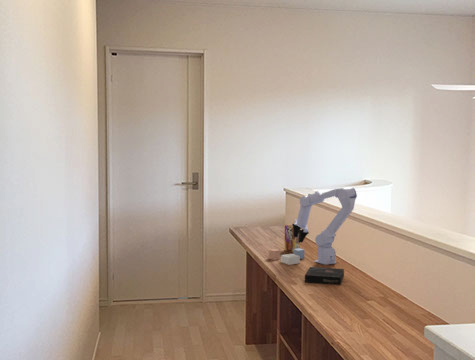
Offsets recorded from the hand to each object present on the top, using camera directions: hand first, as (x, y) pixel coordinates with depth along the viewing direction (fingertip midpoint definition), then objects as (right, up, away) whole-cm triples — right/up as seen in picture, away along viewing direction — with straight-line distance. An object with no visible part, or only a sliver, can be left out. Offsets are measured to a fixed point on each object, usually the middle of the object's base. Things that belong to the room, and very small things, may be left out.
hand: (297, 239), depth 313 cm
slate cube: (0, -10, -1) cm, 10 cm away
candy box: (-1, -9, +18) cm, 20 cm away
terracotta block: (-13, -11, -2) cm, 17 cm away
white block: (-5, -11, -11) cm, 17 cm away
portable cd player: (+8, -15, -45) cm, 48 cm away
